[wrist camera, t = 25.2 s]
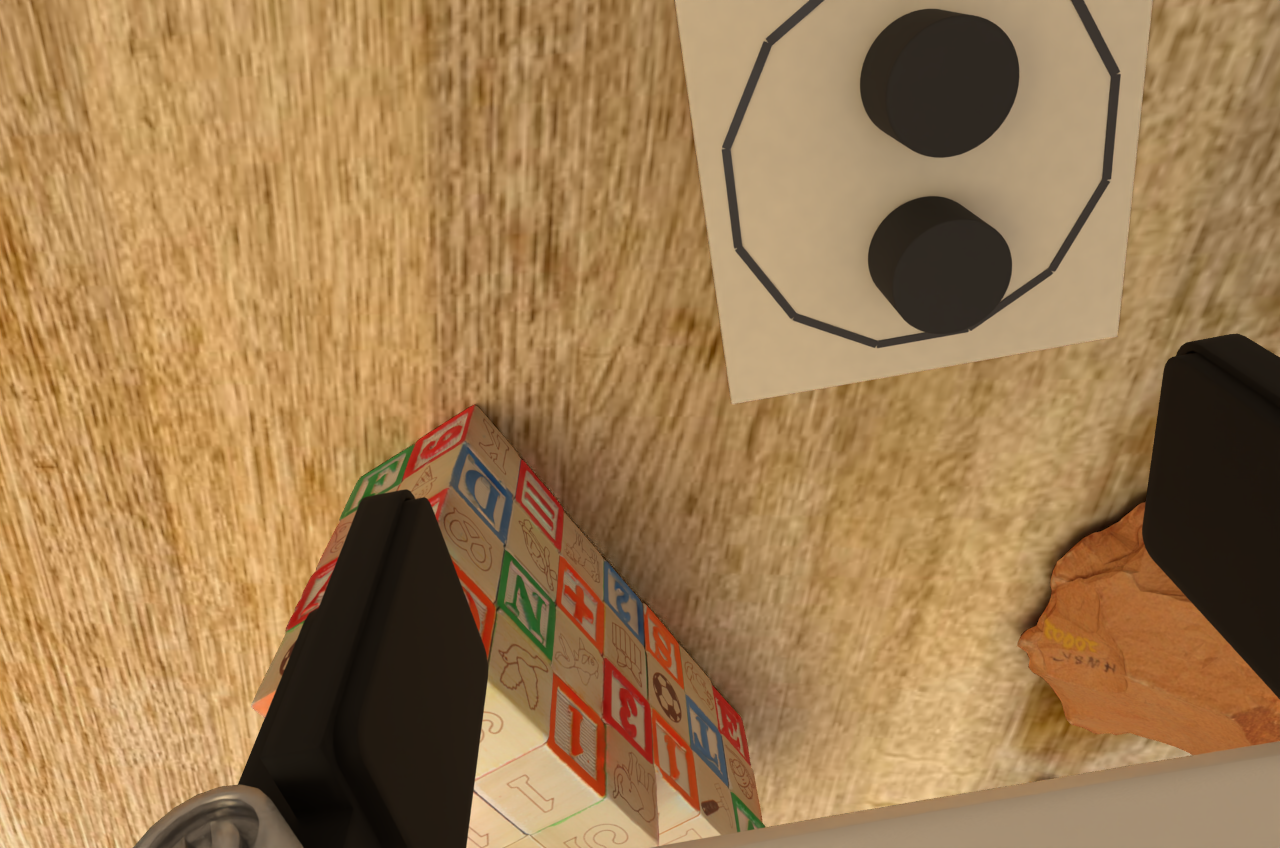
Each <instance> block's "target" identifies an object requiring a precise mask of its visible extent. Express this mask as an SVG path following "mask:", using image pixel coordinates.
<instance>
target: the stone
mask: <svg viewBox="0 0 1280 848" xmlns="http://www.w3.org/2000/svg"><path fill="white" fill-rule="evenodd" d="M1145 503H1146V502H1144V503H1141V504H1139V505H1138V506H1136V507H1135V508H1134V509H1133V510H1132V511H1131V512H1129V513H1128V514H1127V515H1126V516H1124V517H1123V518H1122V519H1121V520H1120V521H1119V522H1117V523H1115V524H1113V525H1111V526H1110V527H1108V528H1107V529H1105V530H1103V531H1100V532H1095V533H1092V534H1090V535H1089V536H1086V537H1084V538H1083V539H1082V540H1081V541H1079V542H1078V543H1077V544H1076V545H1075V546H1074V547H1073V548H1071V549H1070V550H1069V551H1068V552H1067V553H1066V554H1065V555H1064V556H1063V557H1062V558H1061V559H1060V560H1058V561H1057V563H1056V566H1055V568H1054V570H1053V572H1052V577H1051V581H1050V586H1051V589H1052V593H1051V598H1050V601H1049V603H1048V605H1047V607H1046V609H1045V610H1044V612H1043V613H1042V615H1041V616H1040V618H1039V621H1038V623H1037V626H1034V627H1032V628H1030V629H1028V630H1026V631H1024V632H1023V634H1022V635H1021V637H1020V639H1019V641H1018V647H1020V648H1022V649H1023V650H1025V651H1026V652H1027V653H1028V654H1027V655H1028V656H1029V658H1030V662H1029V668H1030V669H1031V671H1032V672H1033V673H1035V674H1037V675H1038V676H1040V677H1042V678H1043V679H1044V680H1045V681H1046V682H1047V683H1048V684H1049V685H1050V686H1051V687H1052V689H1053V690H1054V692H1055V693H1056V695H1057V696H1058V697H1059V699H1060V700H1061V702H1062V705H1063V709H1064V713H1065V717H1066V719H1067V720H1068V721H1069V722H1070V724H1072V725H1075V726H1079V727H1082V728H1085V729H1087V730H1089V731H1091V732H1093V733H1095V734H1104V733H1112V734H1114V735H1120V734H1125V733H1132V734H1135V735H1138V736H1142V737H1145V738H1149V739H1152V740H1156V741H1160V742H1163V743H1166V744H1169V745H1172V746H1175V747H1177V748H1180V749H1182V750H1184V751H1186V752H1188V753H1190V754H1192V755H1198V754H1204V753H1210V752H1216V751H1222V750H1229V749H1235V748H1241V747H1247V746H1253V745H1259V744H1265V743H1272V742H1278V741H1280V699H1279V698H1278V697H1277V696H1276V695H1275V694H1274V693H1273V691H1272V690H1271V689H1270V688H1269V687H1268V686H1267V685H1266V684H1265V683H1264V682H1263V681H1262V679H1261V678H1260V677H1259V676H1258V675H1257V674H1256V673H1255V672H1254V671H1253V670H1252V668H1251V667H1250V666H1249V665H1248V664H1247V663H1246V662H1245V661H1244V660H1243V659H1242V657H1241V656H1240V655H1239V654H1238V653H1237V652H1236V651H1235V650H1234V649H1233V648H1232V646H1231V645H1230V644H1229V643H1228V642H1227V641H1226V640H1225V639H1224V638H1223V637H1222V635H1221V634H1220V633H1219V632H1218V631H1217V630H1216V629H1215V628H1214V627H1213V626H1212V624H1211V623H1210V622H1209V621H1208V620H1207V619H1206V618H1205V617H1204V616H1203V615H1202V613H1201V612H1200V611H1199V610H1198V609H1197V608H1196V607H1195V606H1194V605H1193V604H1192V602H1191V601H1190V600H1189V599H1188V598H1187V597H1186V596H1185V595H1184V594H1183V593H1182V591H1181V590H1180V589H1179V588H1178V587H1177V586H1176V585H1175V584H1174V583H1173V582H1172V580H1171V579H1170V578H1169V577H1168V576H1167V575H1166V574H1165V573H1164V572H1163V571H1162V569H1161V568H1160V567H1159V566H1158V565H1157V564H1156V563H1155V562H1154V561H1153V560H1152V558H1151V557H1150V555H1149V554H1148V552H1147V550H1146V548H1145V545H1144V542H1143V537H1142V525H1143V518H1144V511H1145Z"/></svg>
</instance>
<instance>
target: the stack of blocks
mask: <svg viewBox="0 0 1280 848" xmlns="http://www.w3.org/2000/svg"><path fill="white" fill-rule="evenodd" d="M405 489H407V490H409V491H411V493H412V494H413V495H414V497H415V499H417V498H423V497H425V498H427V499H428V500H429V502H430V504H431V506H432V508H433V511H434V514H435V516H436V519H437V522H438V524H439V527H440V530H441V532H442V535H443V538H444V540H445V543H446V546H447V548H448V551H449V554H450V556H451V559H452V562H453V564H454V567H455V570H456V572H457V575H458V578H459V580H460V583H461V586H462V588H463V591H464V594H465V596H466V599H467V601H468V604H469V607H470V609H471V612H472V615H473V617H474V620H475V623H476V625H477V628H478V631H479V633H480V636H481V639H482V641H483V644H484V647H485V650H486V654H487V660H488V682H487V690H486V698H485V705H484V713H483V721H482V729H481V737H480V744H479V752H478V760H477V768H476V776H475V784H474V791H473V799H472V807H471V815H470V823H469V831H468V838H467V846H466V848H650V847H656V846H662V845H668V844H673V843H679V842H685V841H690V840H696V839H702V838H708V837H713V836H719V835H725V834H731V833H736V832H742V831H748V830H754V829H759V828H765V826H764V824H763V823H762V816H761V810H760V804H759V799H758V794H757V789H756V783H755V778H754V773H753V770H752V768H751V764H750V757H749V752H748V745H747V740H746V735H745V730H744V726H743V721H742V718H741V717H740V716H739V715H738V714H737V712H736V711H735V710H734V709H733V708H732V707H731V706H730V705H729V704H728V702H727V701H726V700H725V699H724V698H723V697H722V696H721V694H720V693H719V692H718V691H717V690H716V689H715V688H714V686H713V685H712V684H711V681H710V679H709V678H708V677H707V676H706V674H705V673H704V672H703V671H702V670H701V669H700V667H699V666H698V665H697V664H696V663H695V662H694V660H693V659H692V658H691V657H690V656H689V655H688V653H687V652H686V651H685V650H684V649H683V648H682V647H681V646H680V645H679V644H678V642H677V641H676V639H675V638H674V637H673V636H672V634H671V633H670V632H669V631H668V630H667V629H666V627H665V626H664V625H663V624H662V623H661V621H660V620H659V619H658V618H657V617H656V615H655V614H654V613H653V612H652V611H651V610H650V609H649V607H648V606H647V605H646V604H644V603H641V601H640V599H639V598H638V597H637V596H636V594H635V593H634V592H633V591H632V590H631V589H630V588H629V586H628V585H627V584H626V583H625V582H624V580H623V579H622V578H621V577H620V576H619V575H618V573H617V572H616V571H615V570H614V569H613V568H612V566H611V565H610V564H609V563H608V562H607V561H606V560H605V559H603V558H602V556H601V554H600V553H599V552H598V551H597V550H596V548H595V547H594V546H593V545H592V544H591V543H590V541H589V540H588V539H587V538H586V537H585V536H584V534H583V533H582V532H581V531H580V530H579V529H578V527H577V526H576V525H575V524H574V523H573V522H572V520H571V519H570V518H569V517H568V516H567V515H566V514H565V513H564V510H563V507H562V506H561V505H560V504H559V502H558V501H557V500H556V499H555V497H554V496H553V495H552V494H551V493H550V491H549V490H548V489H547V488H546V487H545V486H544V484H543V483H542V482H541V481H540V480H539V479H538V477H537V476H536V475H535V474H534V473H533V471H532V470H531V469H530V468H529V467H528V465H527V464H526V463H525V462H524V461H523V460H522V459H520V457H519V455H518V454H517V452H516V451H515V449H514V448H513V447H512V446H511V445H510V443H509V442H508V441H507V440H506V439H505V437H504V436H503V435H502V434H501V433H500V432H499V430H498V429H497V428H496V427H495V426H494V424H493V423H492V422H491V421H490V420H489V419H488V417H487V416H486V415H485V414H484V413H483V412H482V411H481V409H480V408H479V407H477V406H476V405H473V406H471V407H469V408H467V409H466V410H464V411H463V412H461V413H459V414H458V415H456V416H455V417H453V418H451V419H450V420H448V421H447V422H445V423H444V424H442V425H441V426H439V427H437V428H436V429H434V430H433V431H431V432H430V433H428V434H427V435H425V436H424V437H422V438H421V439H419V440H418V441H417V442H416V444H414V445H412V446H410V447H409V448H407V449H405V450H404V451H402V452H400V453H399V454H397V455H396V456H394V457H392V458H391V459H389V460H388V461H386V462H385V463H383V464H381V465H380V466H378V467H376V468H375V469H373V470H372V471H370V472H368V473H367V474H365V475H364V476H362V477H361V478H360V479H359V480H358V482H357V484H356V485H355V487H354V490H353V492H352V493H351V495H350V498H349V500H348V502H347V504H346V506H345V508H344V511H343V512H342V515H341V517H340V519H339V524H338V526H337V527H336V529H335V531H334V533H333V535H332V537H331V539H330V541H329V543H328V545H327V547H326V549H325V551H324V553H323V555H322V557H321V559H320V562H319V564H318V566H317V568H316V572H315V573H314V574H313V575H312V576H311V578H310V580H309V582H308V584H307V585H306V587H305V589H304V591H303V594H302V597H301V599H300V601H299V602H298V604H297V606H296V608H295V612H294V614H293V615H292V617H291V619H290V621H289V623H288V625H287V627H286V634H285V636H284V638H283V641H282V643H281V645H280V647H279V649H278V651H277V653H276V655H275V657H274V659H273V661H272V663H271V665H270V667H269V669H268V671H267V673H266V675H265V677H264V679H263V681H262V683H261V685H260V687H259V689H258V691H257V694H256V696H255V698H254V700H253V702H252V704H251V707H252V708H253V709H254V710H255V711H256V712H258V713H259V714H260V715H261V716H263V717H264V718H265V717H266V714H267V712H268V709H269V707H270V704H271V702H272V699H273V697H274V695H275V692H276V690H277V687H278V685H279V682H280V680H281V677H282V675H283V672H284V670H285V667H286V665H287V663H288V660H289V658H290V655H291V653H292V650H293V648H294V645H295V643H296V640H297V638H298V635H299V633H300V630H301V628H302V626H303V623H304V621H305V620H306V618H307V616H308V614H309V613H310V612H312V611H313V610H315V609H317V608H319V605H320V603H321V600H322V598H323V595H324V593H325V590H326V587H327V585H328V582H329V580H330V577H331V575H332V572H333V570H334V567H335V565H336V562H337V559H338V557H339V554H340V552H341V549H342V547H343V544H344V542H345V539H346V537H347V534H348V531H349V529H350V526H351V524H352V521H353V519H354V516H355V514H356V511H357V509H358V506H359V503H360V502H361V500H362V498H364V497H367V496H373V495H378V494H383V493H389V492H394V491H399V490H405Z"/></svg>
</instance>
